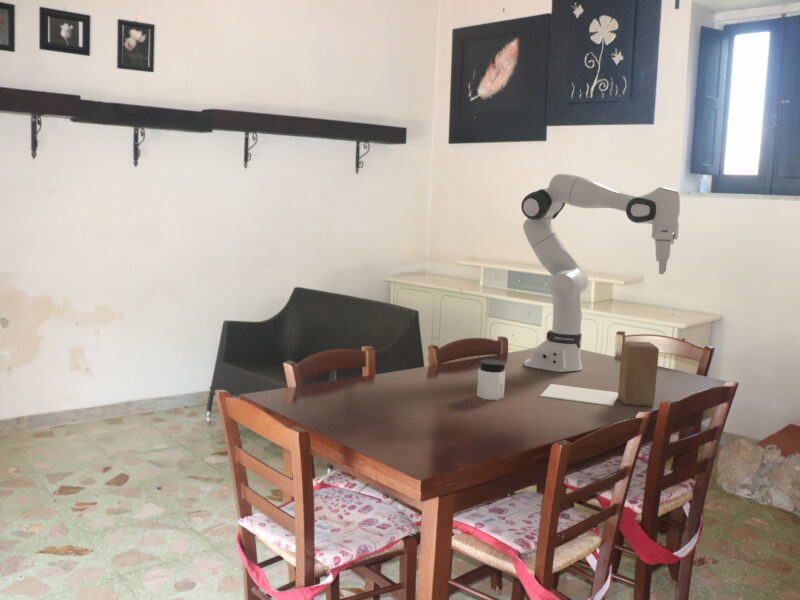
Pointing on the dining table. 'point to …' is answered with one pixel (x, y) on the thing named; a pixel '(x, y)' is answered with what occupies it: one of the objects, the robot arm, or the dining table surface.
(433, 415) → the dining table surface
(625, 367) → the block
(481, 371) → the jar
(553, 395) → the mat
